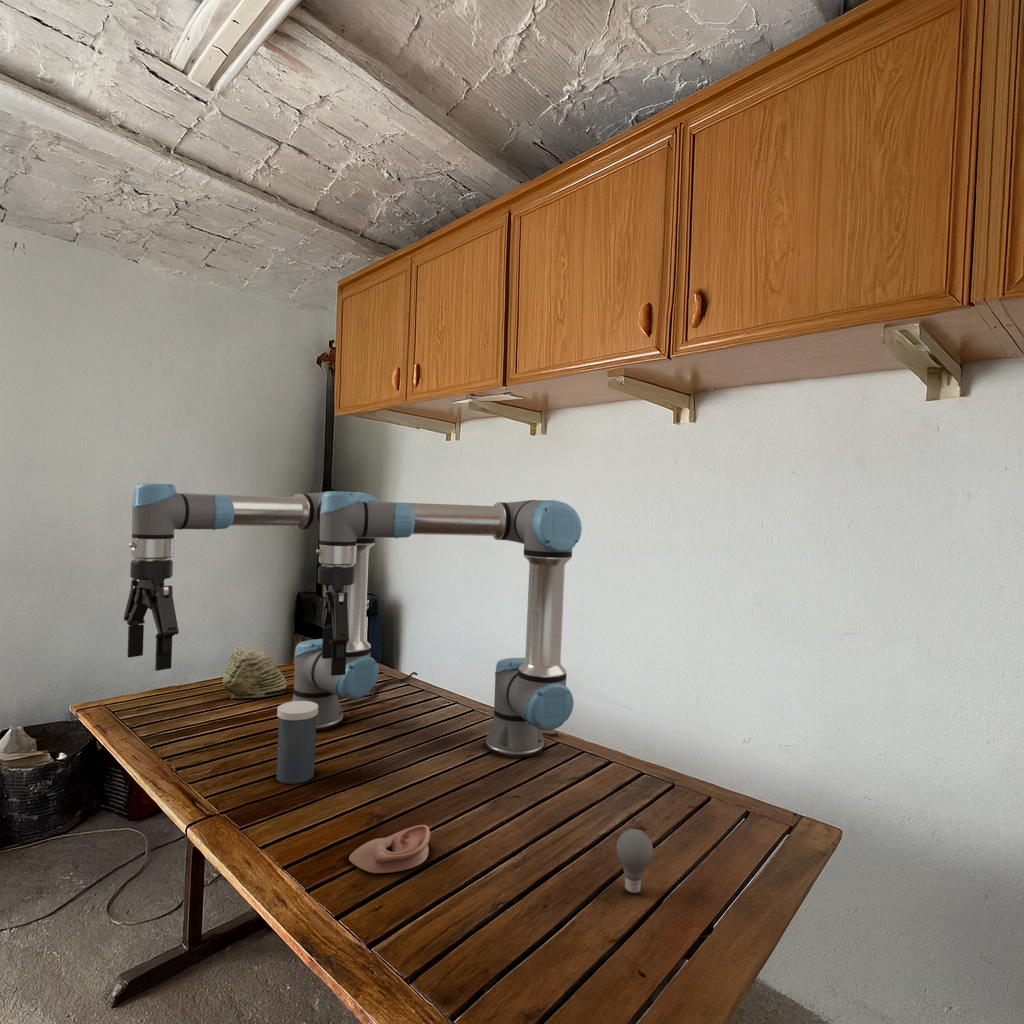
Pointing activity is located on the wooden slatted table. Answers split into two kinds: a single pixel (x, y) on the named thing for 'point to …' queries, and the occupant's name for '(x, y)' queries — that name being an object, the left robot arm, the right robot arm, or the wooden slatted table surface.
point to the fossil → (252, 674)
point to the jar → (296, 750)
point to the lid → (297, 710)
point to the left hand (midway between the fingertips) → (148, 662)
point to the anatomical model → (393, 851)
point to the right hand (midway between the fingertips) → (333, 666)
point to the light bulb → (634, 857)
